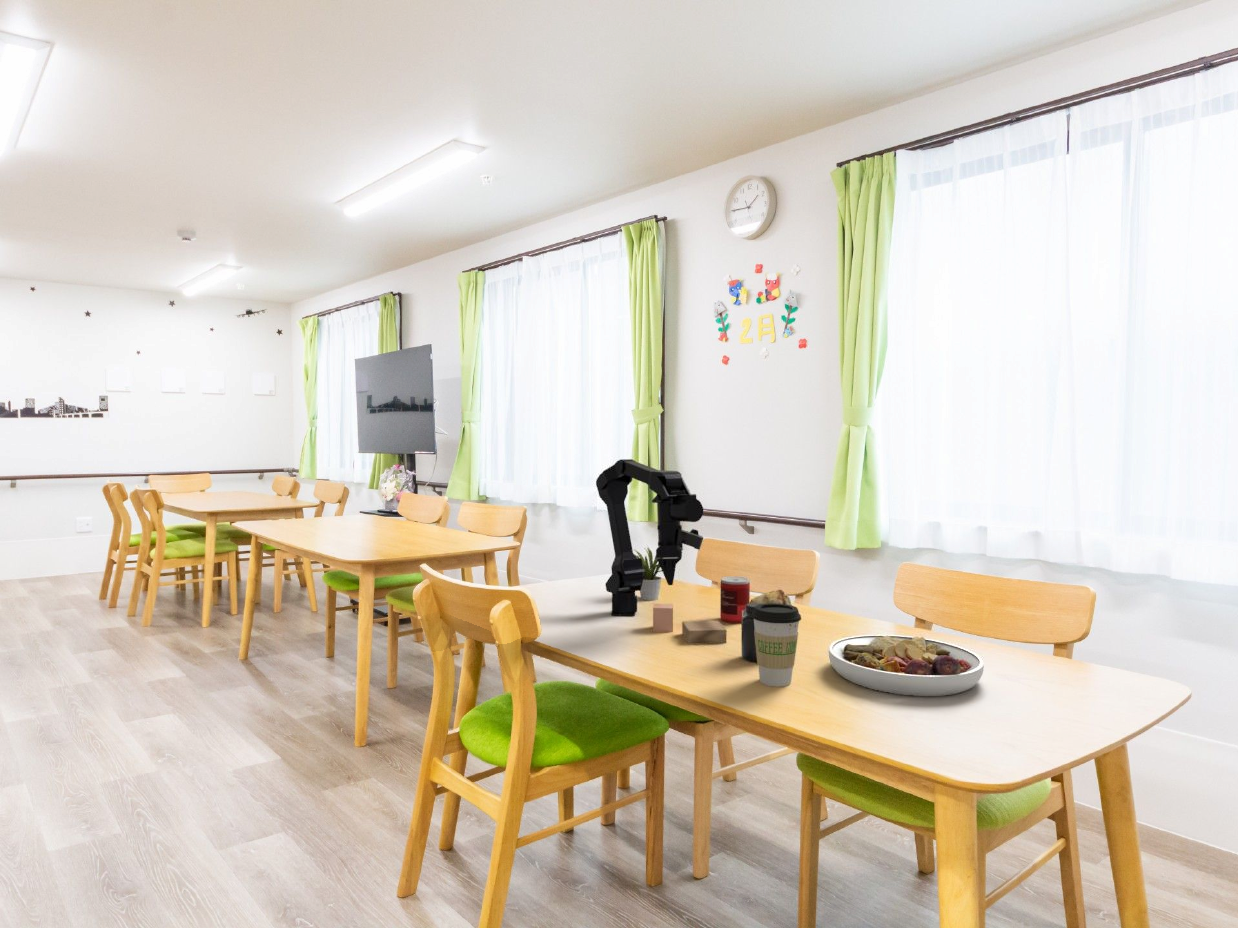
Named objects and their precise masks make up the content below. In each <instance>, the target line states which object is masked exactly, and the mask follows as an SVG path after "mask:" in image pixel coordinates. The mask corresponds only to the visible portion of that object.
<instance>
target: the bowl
mask: <svg viewBox="0 0 1238 928" xmlns="http://www.w3.org/2000/svg"><path fill="white" fill-rule="evenodd" d="M828 658H829V661H830V665H831V667H832V668H833V669H834V670H835V671H836V673H837V674H838V675H840V676H841V677H842V678H844V679H846V680H847V681H849V682H851V683H853V684H855V685H858V686H860V685H861V687H863V688H866V687H867V689H870V690H873V689H874V691H877V690H879V692H882V691H883V693H887V692H889V693H888V694H893V693H894V694H893V695H900V694H903V695H902V696H909V695H913V696H912V697H942V696H949V695H956V694H959V693H963V692H965V691H968V690H970V689H972V688H973V687H974V686H976V685H977V684H978V682H979V681H980V680H981V678H982V676H983V673H984V669H985V668H984V661H983V659H982V658H981V656H979V655H978V654H977V653H975V652H974V651H971V650H969V649H966V648H964V647H961V646H958V645H956V644H953V643H952V644H951V643H949V642H948V643H947V642H946V641H945V642H944V641H940V640H935V639H929V638H924V637H923V636H920V637H919V636H909V635H907V636H906V635H895V634H866V635H865V634H862V635H855V636H848V637H843V638H840V639H837V640H835V641H833V642H832V643H831V644H829V646H828Z"/></svg>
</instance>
